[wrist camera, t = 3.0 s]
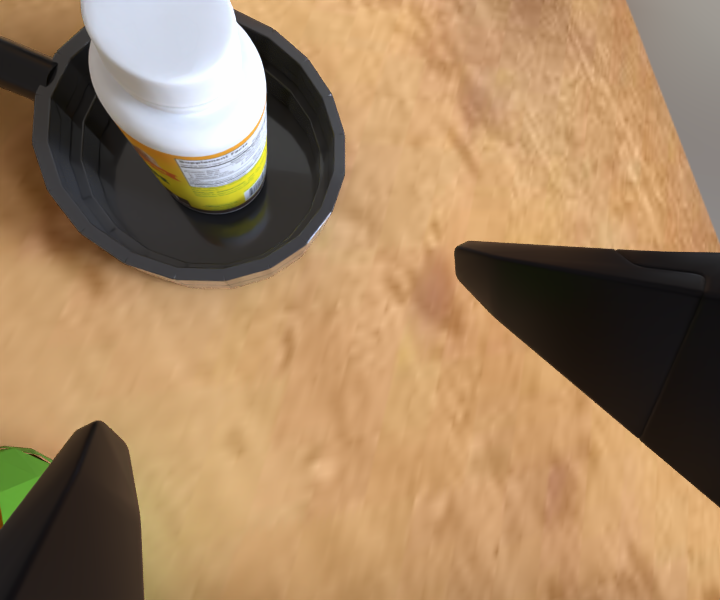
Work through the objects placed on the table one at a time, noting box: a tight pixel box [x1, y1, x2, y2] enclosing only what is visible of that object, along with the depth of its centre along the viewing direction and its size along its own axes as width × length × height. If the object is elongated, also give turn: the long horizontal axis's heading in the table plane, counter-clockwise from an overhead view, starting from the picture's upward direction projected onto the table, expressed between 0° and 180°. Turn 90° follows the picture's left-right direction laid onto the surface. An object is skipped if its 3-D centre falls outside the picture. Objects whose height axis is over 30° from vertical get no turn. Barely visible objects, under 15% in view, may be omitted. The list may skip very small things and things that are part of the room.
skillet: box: [32, 9, 345, 289], centre depth 18 cm, size 13×13×4 cm
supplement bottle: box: [81, 0, 267, 214], centre depth 15 cm, size 6×6×10 cm
